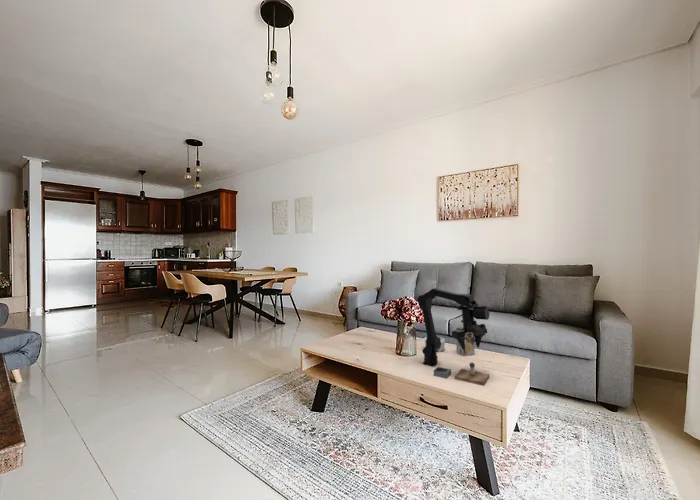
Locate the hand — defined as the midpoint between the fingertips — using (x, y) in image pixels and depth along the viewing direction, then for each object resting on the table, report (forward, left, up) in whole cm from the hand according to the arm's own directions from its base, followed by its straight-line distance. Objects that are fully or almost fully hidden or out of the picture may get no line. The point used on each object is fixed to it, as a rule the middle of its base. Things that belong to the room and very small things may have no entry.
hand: (471, 348), depth 166 cm
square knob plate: (+2, -4, -14) cm, 14 cm away
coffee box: (-11, +32, -14) cm, 37 cm away
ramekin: (-30, +30, -14) cm, 45 cm away
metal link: (-12, -8, -14) cm, 20 cm away
